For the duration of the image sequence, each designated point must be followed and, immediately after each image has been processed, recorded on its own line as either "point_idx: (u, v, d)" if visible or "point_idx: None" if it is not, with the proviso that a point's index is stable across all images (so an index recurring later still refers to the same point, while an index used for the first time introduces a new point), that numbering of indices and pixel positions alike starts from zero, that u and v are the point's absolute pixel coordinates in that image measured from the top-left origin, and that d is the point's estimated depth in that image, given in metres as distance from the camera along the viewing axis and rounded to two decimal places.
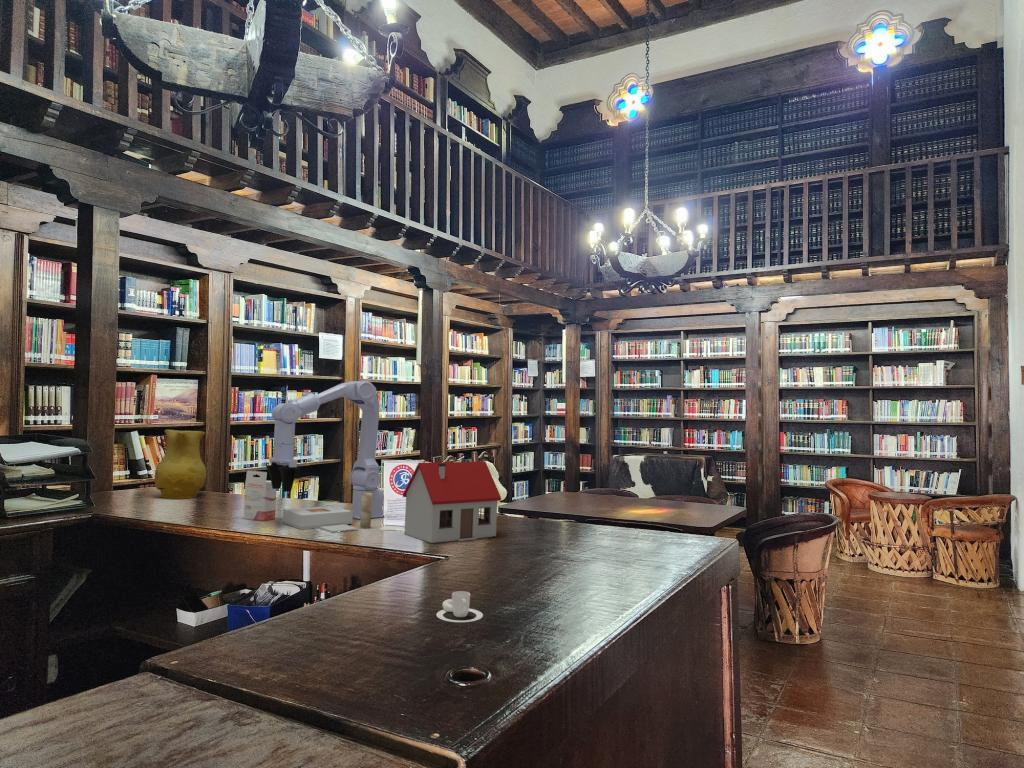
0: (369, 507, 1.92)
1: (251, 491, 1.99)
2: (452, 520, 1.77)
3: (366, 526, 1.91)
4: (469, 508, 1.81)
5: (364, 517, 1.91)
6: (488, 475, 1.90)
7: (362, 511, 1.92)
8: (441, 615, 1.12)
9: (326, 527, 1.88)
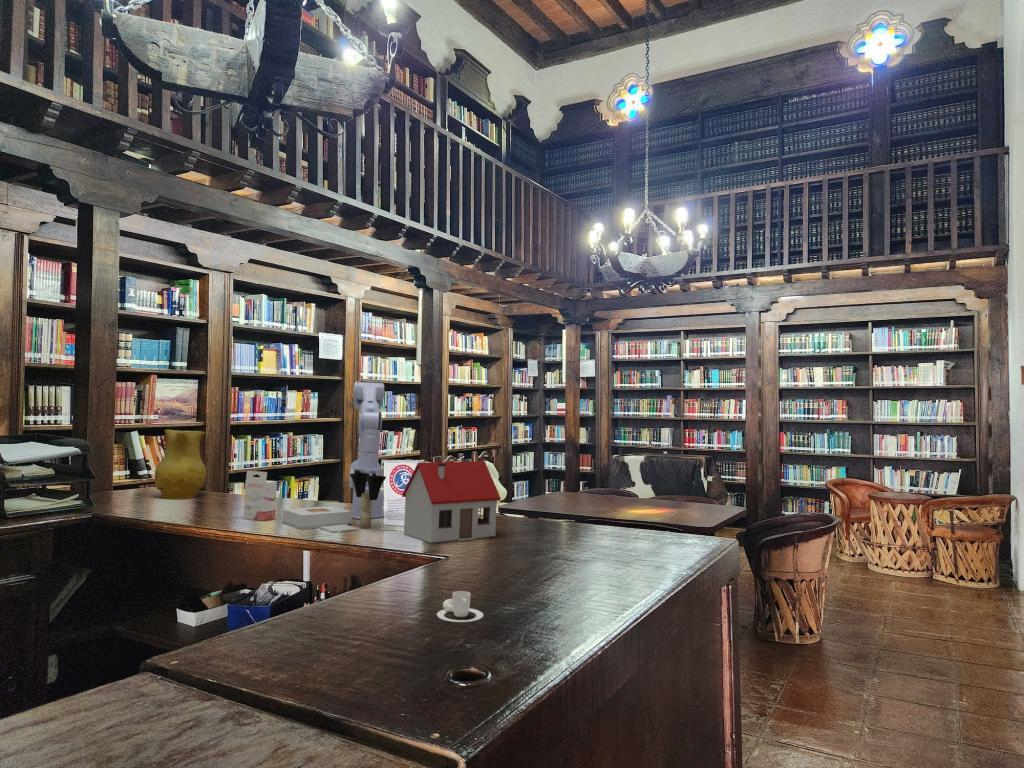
0: (369, 507, 1.92)
1: (251, 491, 1.99)
2: (451, 520, 1.77)
3: (366, 526, 1.91)
4: (468, 508, 1.81)
5: (364, 517, 1.91)
6: (488, 475, 1.90)
7: (362, 511, 1.92)
8: (442, 615, 1.12)
9: (326, 527, 1.88)
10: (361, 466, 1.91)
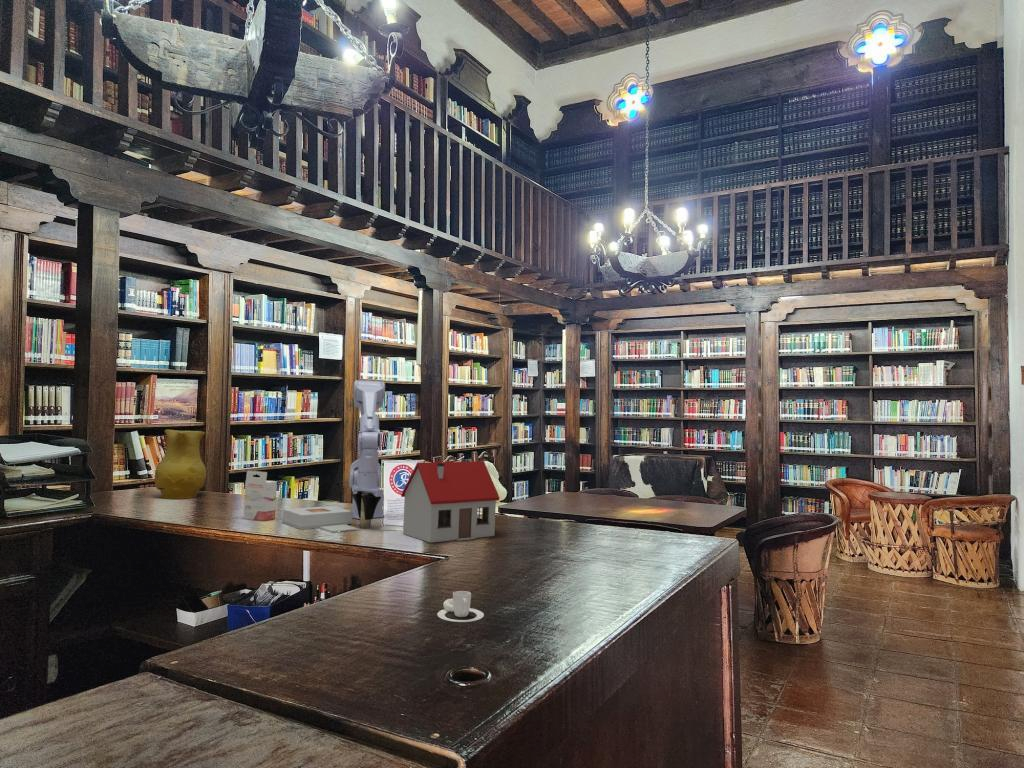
0: None
1: (251, 491, 1.99)
2: (451, 520, 1.77)
3: (366, 526, 1.91)
4: (467, 508, 1.81)
5: (364, 517, 1.91)
6: (487, 475, 1.90)
7: (362, 511, 1.92)
8: (442, 615, 1.12)
9: (326, 527, 1.88)
10: (360, 486, 1.91)
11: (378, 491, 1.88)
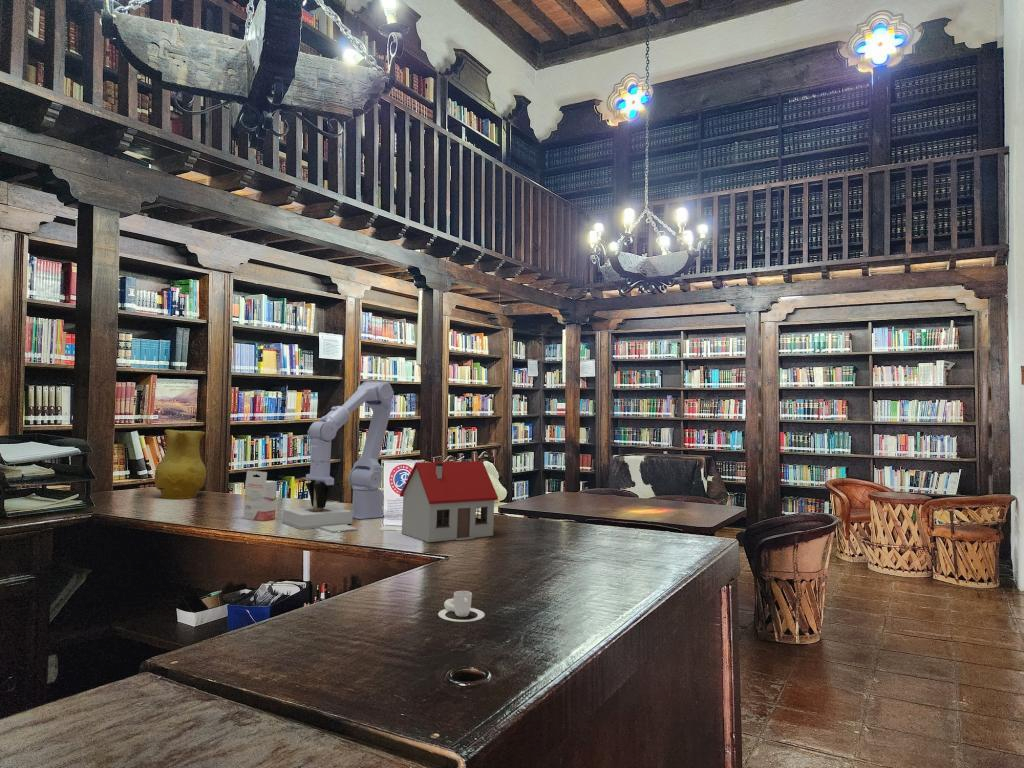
0: None
1: (251, 491, 1.99)
2: (449, 519, 1.78)
3: None
4: (466, 508, 1.81)
5: (316, 505, 1.95)
6: (485, 475, 1.90)
7: (314, 499, 1.95)
8: (443, 615, 1.12)
9: (326, 527, 1.88)
10: (312, 475, 1.94)
11: (329, 480, 1.91)
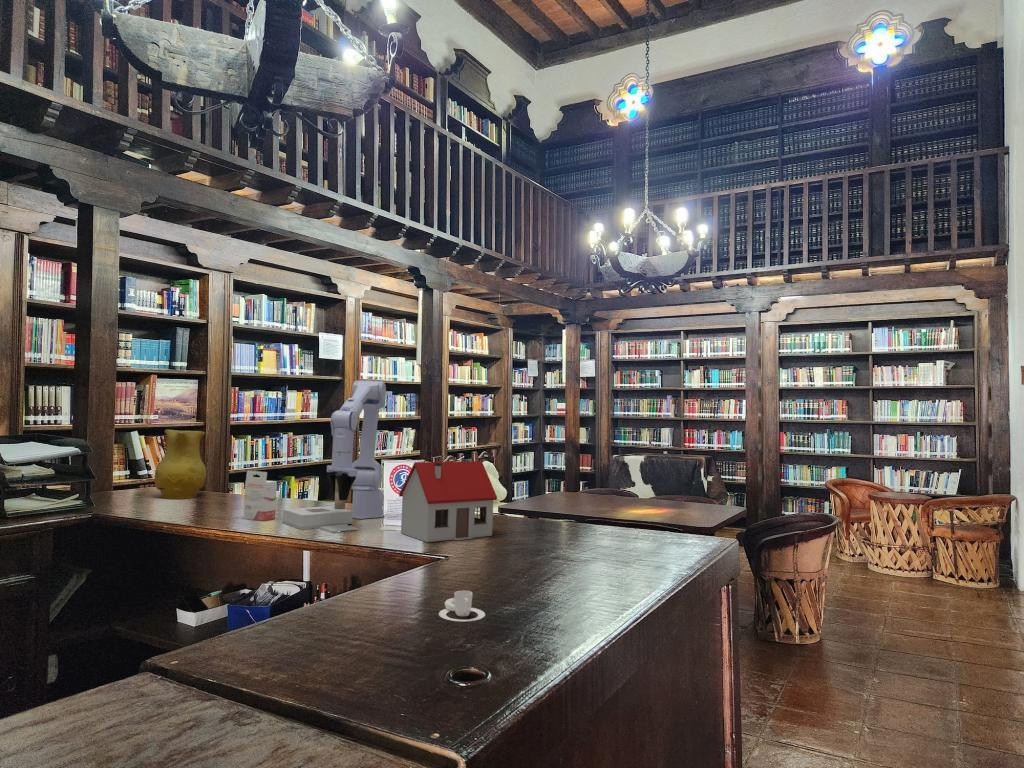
0: None
1: (251, 491, 1.99)
2: (448, 519, 1.78)
3: (340, 507, 1.87)
4: (465, 507, 1.81)
5: (338, 498, 1.87)
6: (485, 475, 1.90)
7: (336, 492, 1.88)
8: (444, 614, 1.12)
9: (326, 527, 1.88)
10: (334, 466, 1.87)
11: (352, 471, 1.83)
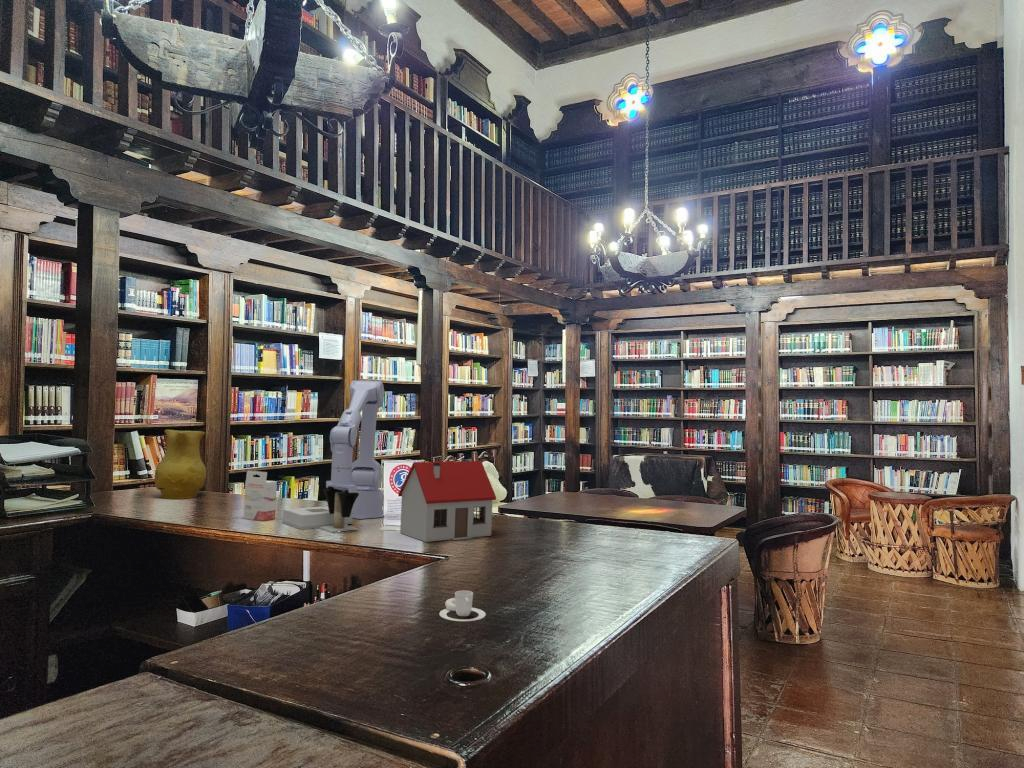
0: None
1: (251, 491, 1.99)
2: (446, 519, 1.78)
3: (339, 526, 1.87)
4: (464, 507, 1.81)
5: (337, 517, 1.87)
6: (484, 475, 1.90)
7: (335, 511, 1.87)
8: (444, 614, 1.12)
9: (326, 527, 1.88)
10: (333, 482, 1.86)
11: (351, 487, 1.83)
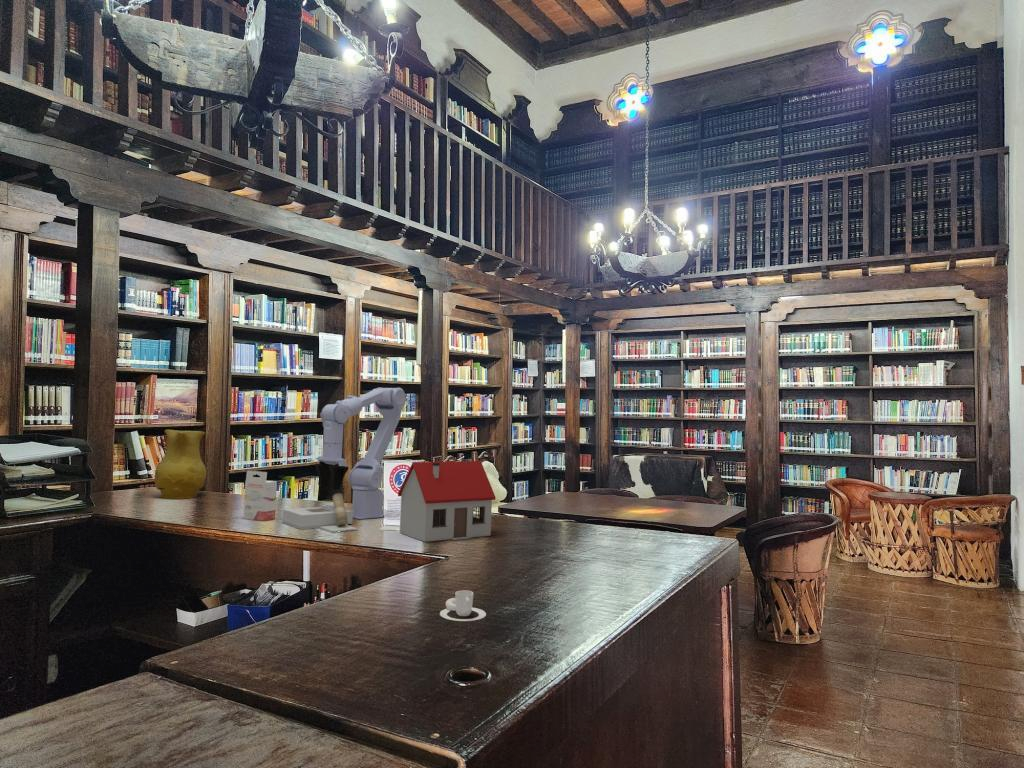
0: (344, 505, 1.93)
1: (251, 491, 1.99)
2: (446, 519, 1.78)
3: (345, 518, 1.89)
4: (463, 507, 1.82)
5: (342, 511, 1.91)
6: (483, 475, 1.90)
7: (338, 507, 1.91)
8: (445, 614, 1.12)
9: (326, 527, 1.88)
10: (325, 457, 1.97)
11: (341, 461, 1.94)
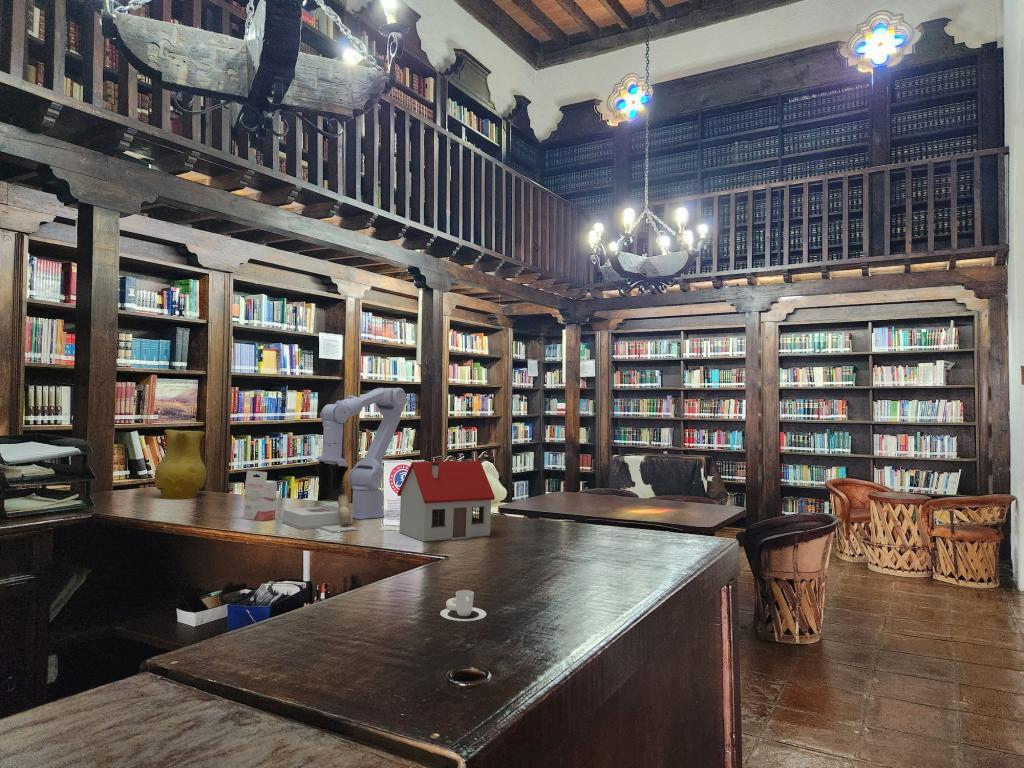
0: None
1: (251, 491, 1.99)
2: (445, 519, 1.78)
3: (350, 520, 1.90)
4: (462, 507, 1.82)
5: (348, 512, 1.92)
6: (483, 475, 1.91)
7: (345, 507, 1.93)
8: (445, 614, 1.12)
9: (326, 527, 1.88)
10: (324, 457, 1.97)
11: (341, 461, 1.94)
